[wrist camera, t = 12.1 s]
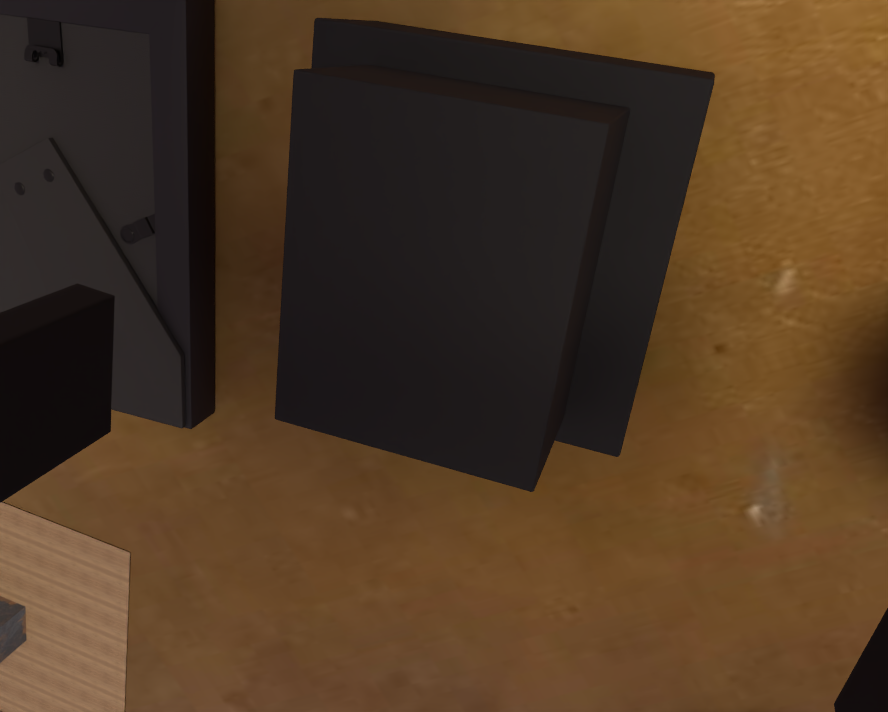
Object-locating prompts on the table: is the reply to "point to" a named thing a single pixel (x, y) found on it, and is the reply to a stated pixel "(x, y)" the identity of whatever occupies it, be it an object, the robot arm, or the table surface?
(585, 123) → the top pad
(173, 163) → the picture frame
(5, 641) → the architectural model on board
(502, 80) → the dark rectangular box
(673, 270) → the table surface
